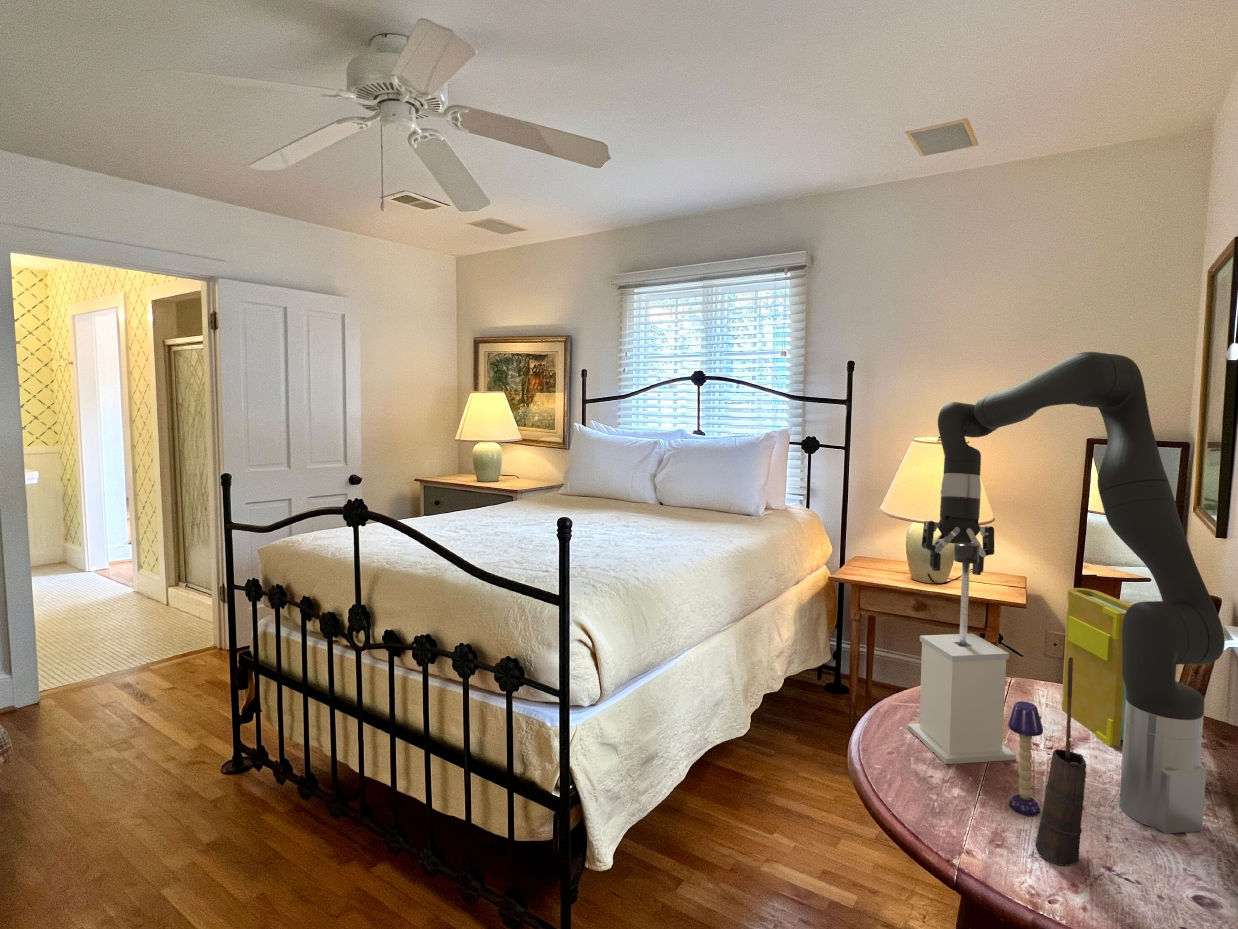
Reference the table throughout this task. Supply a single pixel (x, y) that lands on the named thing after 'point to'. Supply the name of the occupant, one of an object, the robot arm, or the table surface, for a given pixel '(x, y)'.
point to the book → (1095, 663)
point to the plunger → (965, 581)
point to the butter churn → (1063, 800)
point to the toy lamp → (1025, 755)
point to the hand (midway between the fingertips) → (956, 572)
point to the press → (962, 699)
